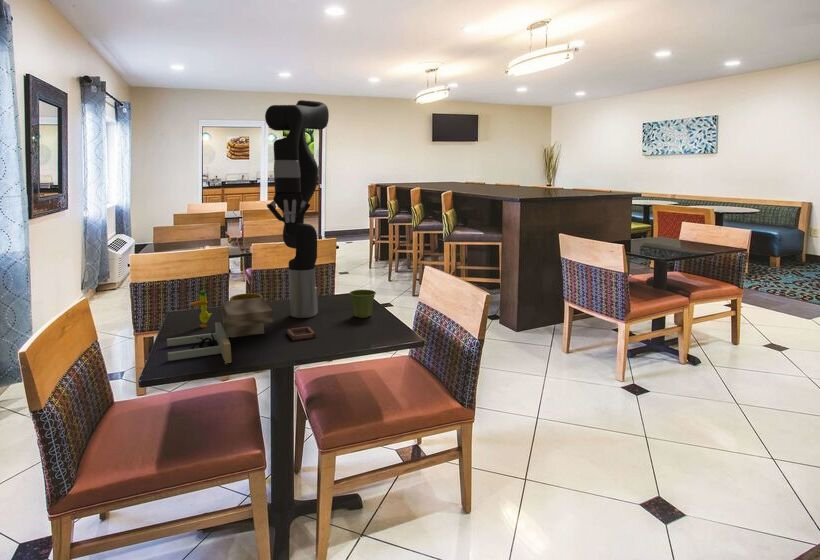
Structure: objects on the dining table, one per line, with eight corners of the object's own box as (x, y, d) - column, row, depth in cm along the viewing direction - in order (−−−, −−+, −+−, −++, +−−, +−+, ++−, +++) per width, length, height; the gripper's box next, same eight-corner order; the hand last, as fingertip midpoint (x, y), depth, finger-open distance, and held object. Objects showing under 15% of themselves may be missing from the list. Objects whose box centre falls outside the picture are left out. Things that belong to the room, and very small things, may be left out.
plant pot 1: (259, 329, 164) (258, 300, 162) (227, 329, 163) (225, 300, 161) (266, 320, 174) (265, 293, 172) (236, 320, 173) (234, 293, 171)
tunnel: (263, 332, 161) (261, 297, 158) (274, 348, 145) (272, 310, 143) (224, 337, 155) (221, 301, 153) (231, 354, 140) (228, 315, 138)
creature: (190, 361, 138) (219, 351, 141) (183, 344, 137) (213, 334, 140) (189, 352, 145) (217, 343, 148) (183, 335, 144) (211, 326, 146)
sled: (221, 338, 153) (220, 321, 152) (231, 363, 133) (230, 343, 132) (167, 345, 147) (165, 327, 146) (169, 373, 126) (167, 352, 125)
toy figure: (193, 329, 163) (190, 294, 160) (190, 327, 165) (187, 292, 163) (214, 326, 167) (212, 291, 164) (211, 323, 169) (209, 289, 167)
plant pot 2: (378, 318, 177) (377, 294, 175) (351, 320, 175) (351, 296, 173) (373, 311, 186) (373, 289, 184) (348, 313, 184) (347, 290, 182)
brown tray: (308, 330, 162) (308, 326, 162) (315, 337, 156) (315, 333, 155) (287, 333, 159) (287, 329, 159) (293, 340, 152) (293, 336, 152)
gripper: (306, 176, 153) (308, 232, 156) (261, 176, 147) (265, 234, 150) (312, 176, 146) (314, 235, 149) (266, 176, 140) (270, 237, 144)
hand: (289, 235), depth 150 cm, fingers closed
